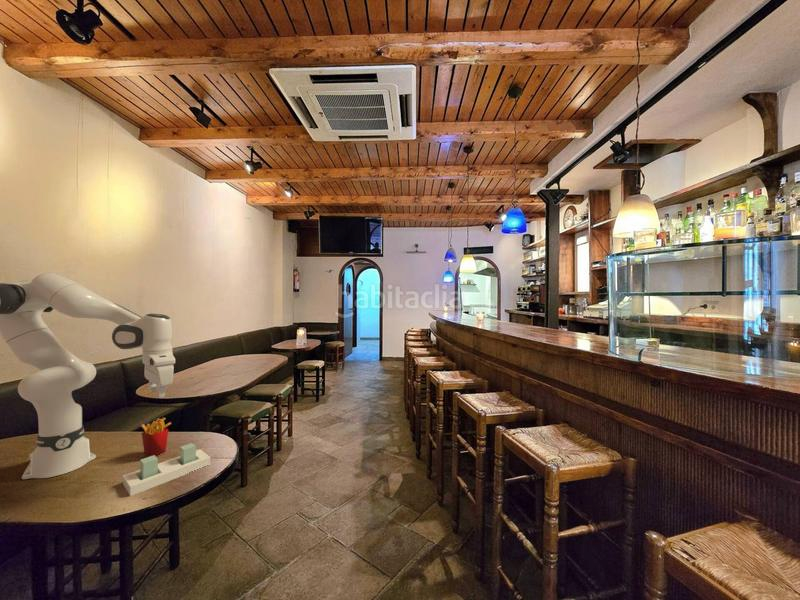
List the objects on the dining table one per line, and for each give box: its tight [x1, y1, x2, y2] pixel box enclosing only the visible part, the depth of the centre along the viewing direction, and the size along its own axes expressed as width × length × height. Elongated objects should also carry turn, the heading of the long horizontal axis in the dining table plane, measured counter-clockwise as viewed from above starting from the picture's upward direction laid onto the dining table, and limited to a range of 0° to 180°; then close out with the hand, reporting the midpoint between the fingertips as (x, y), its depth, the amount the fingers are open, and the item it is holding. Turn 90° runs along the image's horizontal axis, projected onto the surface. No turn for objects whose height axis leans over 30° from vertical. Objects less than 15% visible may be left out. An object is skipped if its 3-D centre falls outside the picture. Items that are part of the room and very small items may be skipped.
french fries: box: [140, 417, 172, 457], centre depth 128 cm, size 9×8×15 cm
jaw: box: [139, 455, 159, 480], centre depth 109 cm, size 4×4×8 cm
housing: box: [122, 442, 211, 497], centre depth 114 cm, size 10×24×8 cm, turn 142°
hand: (157, 394), depth 116 cm, fingers open, 8 cm apart
